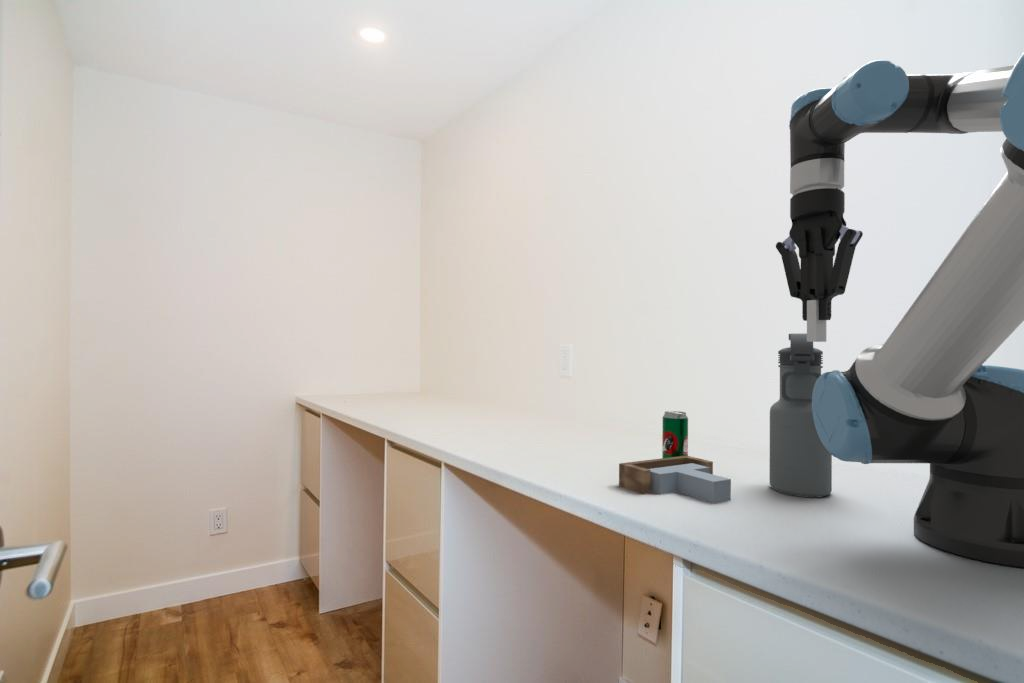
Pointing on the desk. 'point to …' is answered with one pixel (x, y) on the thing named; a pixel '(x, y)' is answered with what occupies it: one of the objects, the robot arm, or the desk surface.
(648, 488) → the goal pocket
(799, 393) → the water bottle
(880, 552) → the desk surface
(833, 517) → the desk surface
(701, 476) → the t block
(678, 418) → the soda can
